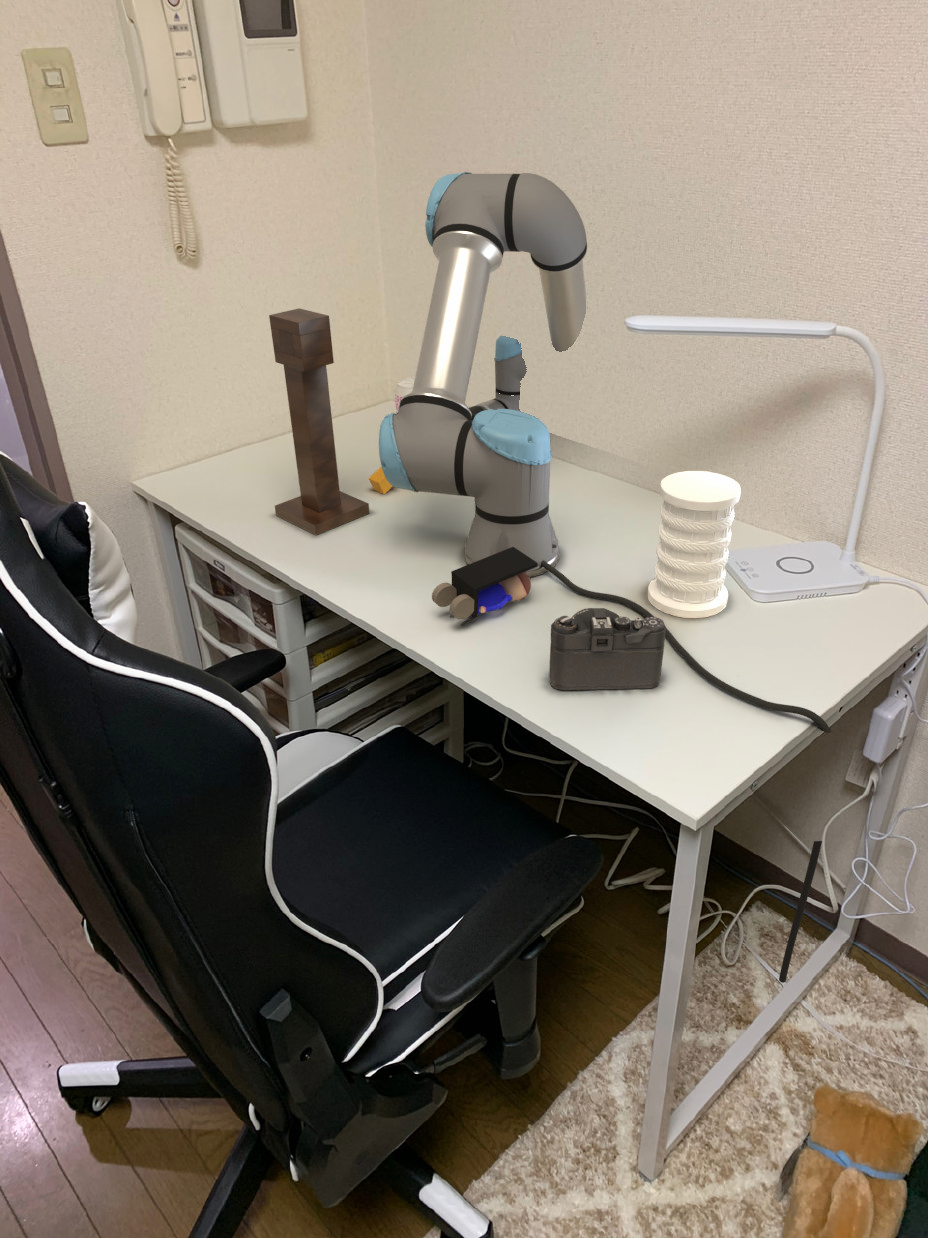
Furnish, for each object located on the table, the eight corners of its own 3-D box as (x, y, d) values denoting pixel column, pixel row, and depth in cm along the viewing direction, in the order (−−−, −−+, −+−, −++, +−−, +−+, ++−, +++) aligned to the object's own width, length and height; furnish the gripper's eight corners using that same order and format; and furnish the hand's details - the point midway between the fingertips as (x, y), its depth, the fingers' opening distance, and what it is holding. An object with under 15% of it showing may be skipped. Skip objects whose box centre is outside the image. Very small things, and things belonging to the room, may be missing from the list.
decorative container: (736, 617, 129) (753, 502, 119) (655, 619, 129) (666, 504, 120) (716, 578, 139) (731, 468, 129) (641, 579, 139) (651, 470, 129)
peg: (384, 494, 169) (378, 482, 167) (374, 490, 171) (368, 478, 169) (446, 435, 175) (441, 423, 173) (435, 431, 177) (430, 419, 175)
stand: (316, 535, 155) (289, 328, 136) (275, 515, 162) (246, 316, 144) (369, 513, 162) (351, 313, 144) (328, 495, 169) (306, 302, 151)
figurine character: (460, 644, 127) (542, 600, 134) (454, 600, 123) (539, 557, 129) (434, 624, 132) (514, 583, 138) (427, 581, 128) (510, 541, 134)
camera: (646, 644, 124) (652, 581, 118) (663, 691, 114) (671, 625, 109) (542, 648, 123) (544, 585, 118) (551, 696, 114) (554, 629, 109)
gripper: (509, 450, 180) (423, 485, 166) (454, 431, 190) (368, 463, 176) (509, 414, 176) (421, 446, 162) (452, 397, 186) (365, 426, 172)
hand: (394, 455), depth 169 cm, fingers closed on peg, 3 cm apart
